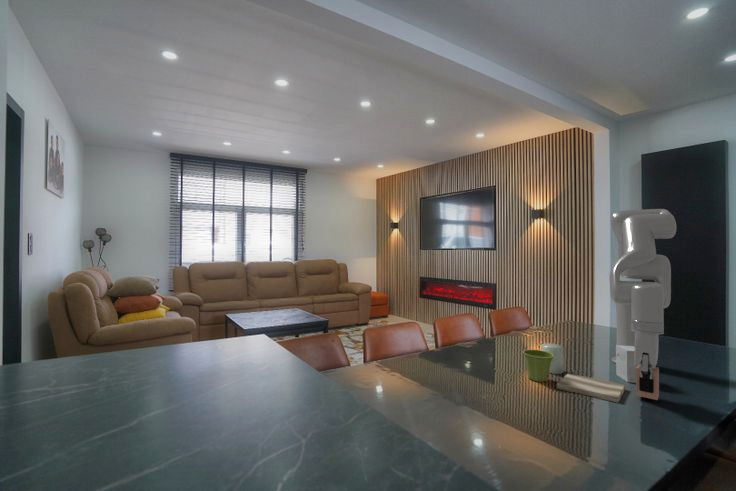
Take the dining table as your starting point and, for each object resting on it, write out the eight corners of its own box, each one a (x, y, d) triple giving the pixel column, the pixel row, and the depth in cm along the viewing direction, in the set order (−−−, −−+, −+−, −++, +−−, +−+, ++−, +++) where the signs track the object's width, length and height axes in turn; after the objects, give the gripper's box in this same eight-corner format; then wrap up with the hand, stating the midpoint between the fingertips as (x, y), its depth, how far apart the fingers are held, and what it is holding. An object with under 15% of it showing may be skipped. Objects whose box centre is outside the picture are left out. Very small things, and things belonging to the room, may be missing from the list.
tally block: (637, 390, 110) (637, 363, 110) (658, 394, 107) (658, 367, 107) (635, 395, 106) (635, 367, 106) (657, 400, 103) (657, 371, 103)
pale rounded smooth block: (545, 366, 136) (545, 342, 137) (565, 370, 132) (565, 345, 132) (539, 371, 131) (539, 345, 131) (560, 375, 126) (560, 349, 127)
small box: (646, 384, 119) (646, 351, 119) (627, 382, 120) (626, 350, 120) (633, 376, 127) (633, 345, 127) (615, 374, 128) (615, 344, 128)
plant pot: (553, 377, 125) (553, 351, 125) (554, 386, 116) (554, 358, 116) (523, 373, 129) (523, 348, 129) (522, 381, 120) (522, 354, 120)
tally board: (568, 377, 124) (568, 373, 124) (625, 389, 114) (625, 384, 114) (556, 388, 114) (556, 383, 114) (618, 402, 103) (618, 397, 103)
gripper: (634, 320, 116) (635, 378, 115) (627, 329, 103) (627, 394, 103) (665, 324, 111) (665, 384, 110) (661, 333, 98) (662, 401, 98)
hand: (647, 388), depth 107 cm, fingers closed on tally block, 5 cm apart
